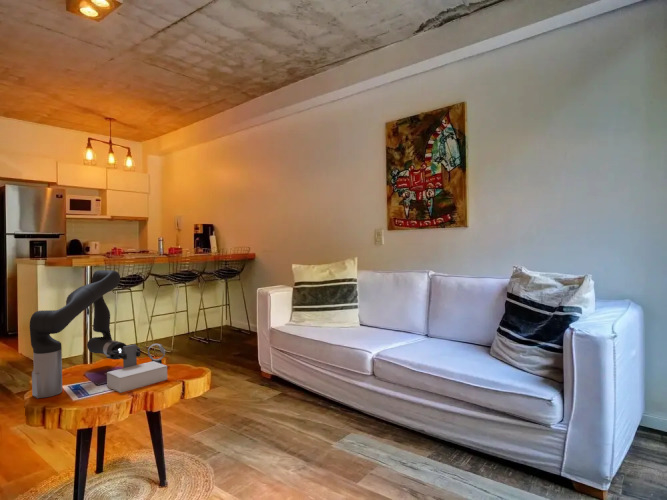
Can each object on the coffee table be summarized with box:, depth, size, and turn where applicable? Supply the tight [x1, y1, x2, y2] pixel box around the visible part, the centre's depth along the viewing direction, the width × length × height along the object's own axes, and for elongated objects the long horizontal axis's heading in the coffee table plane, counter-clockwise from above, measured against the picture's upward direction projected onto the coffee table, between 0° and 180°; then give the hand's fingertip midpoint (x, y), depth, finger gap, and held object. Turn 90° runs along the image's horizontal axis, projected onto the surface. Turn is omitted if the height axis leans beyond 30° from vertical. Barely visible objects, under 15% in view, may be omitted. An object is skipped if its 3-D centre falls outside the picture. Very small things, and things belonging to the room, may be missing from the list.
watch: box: [147, 343, 167, 364], centre depth 197 cm, size 6×8×11 cm
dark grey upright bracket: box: [122, 344, 138, 368], centre depth 175 cm, size 18×13×14 cm
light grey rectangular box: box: [106, 360, 168, 393], centre depth 174 cm, size 20×12×6 cm, turn 142°
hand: (132, 355), depth 177 cm, fingers closed on dark grey upright bracket, 5 cm apart
